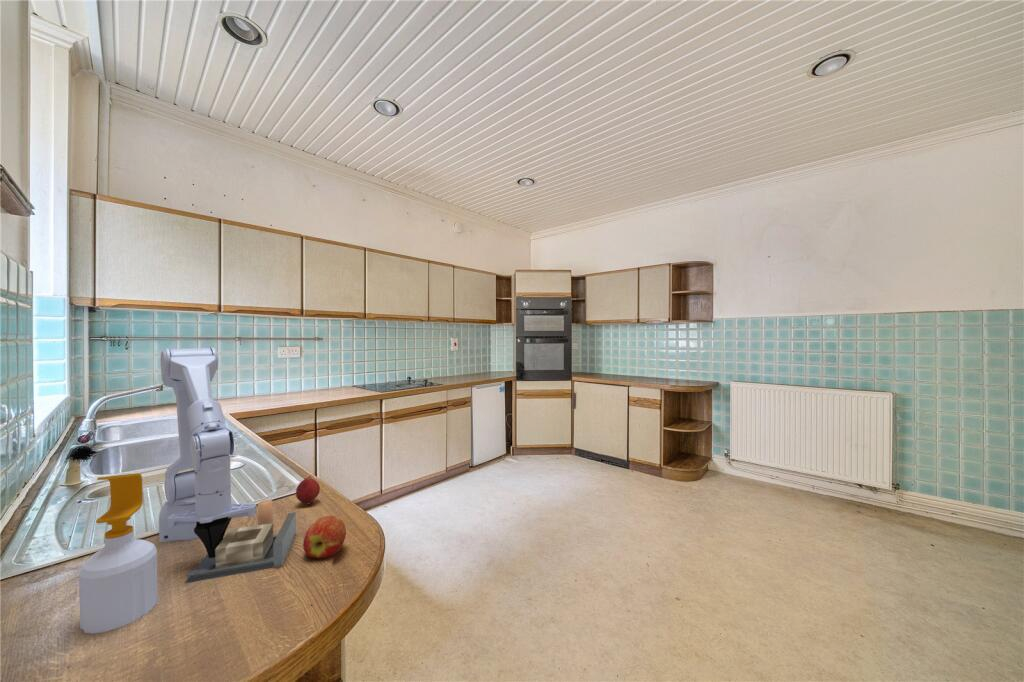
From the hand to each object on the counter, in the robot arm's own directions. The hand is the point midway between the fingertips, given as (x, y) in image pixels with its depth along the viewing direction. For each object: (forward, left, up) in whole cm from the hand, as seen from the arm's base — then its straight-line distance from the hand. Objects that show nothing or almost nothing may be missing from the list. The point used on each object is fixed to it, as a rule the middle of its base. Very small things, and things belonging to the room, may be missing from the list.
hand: (214, 554), depth 78 cm
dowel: (+6, +12, -2) cm, 14 cm away
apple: (+21, -3, -2) cm, 21 cm away
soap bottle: (-9, -12, -2) cm, 15 cm away
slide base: (+5, 0, -2) cm, 6 cm away
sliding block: (+5, 0, -1) cm, 6 cm away
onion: (+13, +25, -2) cm, 28 cm away
